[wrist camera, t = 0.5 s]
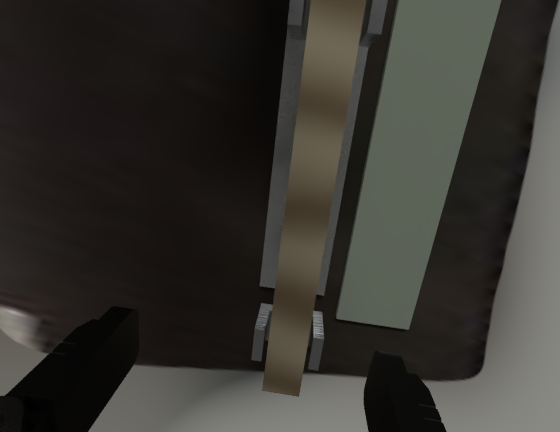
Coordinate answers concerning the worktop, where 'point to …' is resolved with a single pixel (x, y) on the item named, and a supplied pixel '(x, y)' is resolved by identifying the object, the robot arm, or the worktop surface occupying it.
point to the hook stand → (282, 162)
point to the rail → (311, 184)
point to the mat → (412, 153)
